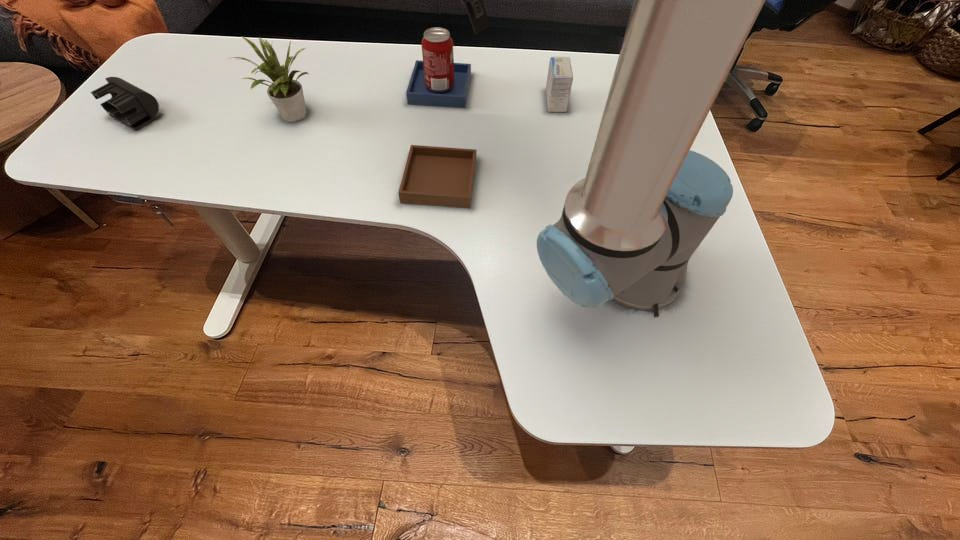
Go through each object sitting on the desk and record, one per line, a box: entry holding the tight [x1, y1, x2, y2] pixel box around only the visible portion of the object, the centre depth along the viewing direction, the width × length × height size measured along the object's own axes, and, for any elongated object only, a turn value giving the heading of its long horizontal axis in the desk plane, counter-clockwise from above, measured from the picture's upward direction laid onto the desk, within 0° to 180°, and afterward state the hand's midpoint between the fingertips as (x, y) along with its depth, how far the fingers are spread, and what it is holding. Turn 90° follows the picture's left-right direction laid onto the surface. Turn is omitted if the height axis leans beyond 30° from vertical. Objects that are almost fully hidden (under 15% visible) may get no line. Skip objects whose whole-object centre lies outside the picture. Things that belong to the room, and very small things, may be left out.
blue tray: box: [405, 59, 472, 109], centre depth 101 cm, size 13×13×3 cm
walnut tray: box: [397, 144, 477, 209], centre depth 84 cm, size 13×13×3 cm
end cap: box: [90, 76, 160, 132], centre depth 92 cm, size 10×7×7 cm
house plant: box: [227, 36, 310, 123], centre depth 89 cm, size 14×14×16 cm
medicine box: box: [545, 56, 574, 113], centre depth 96 cm, size 8×4×9 cm, turn 179°
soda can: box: [420, 26, 455, 92], centre depth 96 cm, size 7×7×12 cm
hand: (464, 8), depth 77 cm, fingers open, 13 cm apart
